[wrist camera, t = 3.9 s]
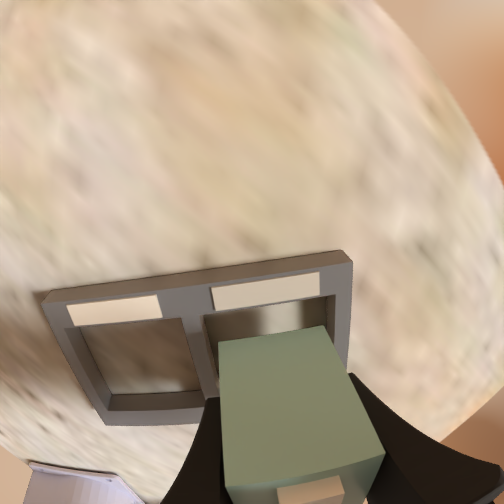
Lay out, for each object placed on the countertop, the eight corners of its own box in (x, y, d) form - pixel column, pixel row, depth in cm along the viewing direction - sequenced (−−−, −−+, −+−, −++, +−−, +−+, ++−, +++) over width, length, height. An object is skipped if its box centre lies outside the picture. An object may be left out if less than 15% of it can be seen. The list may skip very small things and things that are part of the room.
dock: (109, 409, 15) (105, 426, 14) (51, 290, 12) (39, 305, 11) (336, 384, 16) (343, 401, 15) (342, 250, 13) (354, 262, 12)
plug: (233, 408, 13) (247, 542, 7) (218, 341, 12) (226, 506, 6) (321, 393, 13) (366, 518, 7) (323, 325, 12) (393, 470, 6)
